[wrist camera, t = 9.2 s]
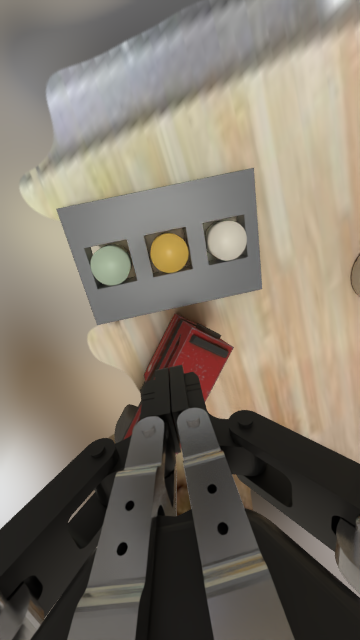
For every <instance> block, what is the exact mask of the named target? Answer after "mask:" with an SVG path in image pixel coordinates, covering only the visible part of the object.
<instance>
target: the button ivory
mask: <svg viewBox="0 0 360 640" xmlns="http://www.w3.org/2000/svg"><path fill="white" fill-rule="evenodd" d="M205 243H206V249H207V250H208V252H209V253H210V254H212V255H214V256H215V257H217V258H219V259H221V260H225V261H229V260H233V259H235V258H237V257H238V256H240V255H241V254H242V252H243V251H244V249H245V247H246V243H247V235H246V232H245V230H244V228H243V227H242V226H241V225H240V224H239V223H237V222H234V221H218V222H215V223H213V224H212V225H211V226H210V227H209V228H208V229H207V231H206V233H205Z"/></svg>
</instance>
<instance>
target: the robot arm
mask: <svg viewBox="0 0 360 640" xmlns="http://www.w3.org/2000/svg"><path fill="white" fill-rule="evenodd" d="M351 278H352V286H353V289H354V290H355V292H356V293H357V294H358V295H359V296H360V255H359V257H358V259H357V260H356V262H355V264H354V267H353V270H352V276H351ZM180 445H181V449H182V453H183V458H184V461H183V463H184V469H185V475H186V480H187V486H188V492H189V497H190V503H191V508H192V509H191V510H189V511H187V512H185V513H183V514H181V515H179V516H176V489H177V468H176V456H175V453H179V452H181V449H180ZM232 474H236V475H237V477H238V478H239V480H240V481H242V482H243V483H244V484H245V485H247V486H248V487H249V488H251V489H252V490H253V491H255V492H256V493H257V494H259V495H260V496H261V497H263V498H264V499H265V500H267V501H268V502H269V503H271V504H272V505H273V506H275V507H276V508H277V509H279V510H280V511H281V512H283V513H284V514H285V515H286V516H288V517H289V518H290V519H292V520H293V521H295V522H296V523H297V524H299V525H300V526H301V527H302V528H304V529H305V530H306V531H308V532H309V533H310V534H312V535H313V536H314V537H316V538H317V539H318V540H320V541H321V542H322V543H324V544H325V545H326V546H328V547H329V548H330V549H331V550H333V551H334V552H335V559H336V563H337V565H338V568H339V570H340V572H341V573H342V575H343V576H344V578H345V579H346V581H347V582H348V583H349V584H350V585H351V586H352V587H353V588H354V589H355V590H356V591H357V592H358V593H359V594H360V464H359V463H357V462H355V461H353V460H351V459H349V458H347V457H345V456H343V455H341V454H339V453H337V452H335V451H333V450H330V449H328V448H326V447H324V446H322V445H320V444H318V443H316V442H314V441H312V440H310V439H308V438H306V437H304V436H302V435H300V434H298V433H296V432H294V431H292V430H290V429H288V428H286V427H284V426H282V425H280V424H278V423H276V422H274V421H272V420H269V419H267V418H265V417H263V416H261V415H259V414H257V413H255V412H253V411H249V410H241V411H237V412H235V413H233V414H232V415H231V416H230V418H229V419H219V418H216V417H213V416H212V415H210V414H209V413H208V411H207V409H206V405H205V401H204V397H203V393H202V389H201V385H200V381H199V377H198V375H196V374H195V373H194V372H189V373H184V370H183V366H182V365H178V366H173V367H169V368H163V369H158V370H155V380H150V381H147V383H146V384H145V386H144V387H143V396H142V404H141V414H140V421H139V422H138V423H137V424H136V425H135V427H134V429H133V432H132V435H131V436H129V437H128V438H126V439H124V440H122V441H120V442H118V443H116V444H115V443H114V442H113V440H111V439H109V438H102V439H98V440H96V441H94V442H92V443H91V444H90V445H88V446H87V447H86V448H85V449H84V450H83V451H82V452H81V453H80V454H79V455H78V456H77V457H76V458H75V459H74V460H73V461H72V462H70V464H68V465H67V466H66V467H65V468H64V469H63V470H62V471H61V472H60V473H59V474H58V475H57V476H56V477H55V478H54V479H53V480H52V481H51V482H49V483H48V484H47V485H46V486H45V487H44V488H43V489H42V490H41V491H40V492H39V493H38V494H37V495H36V496H35V497H34V498H33V499H32V500H31V501H30V502H29V503H28V504H26V505H25V506H24V507H23V508H22V509H21V510H20V511H19V512H18V513H17V514H16V515H15V516H14V517H13V518H12V519H11V520H10V521H9V522H8V523H6V524H5V525H4V527H2V528H1V529H0V640H360V598H359V597H358V596H357V595H356V594H355V593H354V592H352V591H351V590H350V589H349V588H348V587H347V586H345V585H344V584H343V583H342V582H341V581H340V580H338V579H337V578H336V577H335V576H334V575H333V574H331V573H330V572H329V571H328V570H327V569H326V568H325V567H323V566H322V565H321V564H320V563H319V562H318V561H316V560H315V559H314V558H313V557H312V556H310V555H309V554H308V553H307V552H306V551H305V550H304V549H303V548H301V547H300V546H299V545H298V544H297V543H296V542H295V541H293V540H292V539H291V538H290V537H289V536H288V535H286V534H285V533H284V532H283V531H282V530H281V529H279V528H278V527H277V526H276V525H275V524H274V523H272V522H271V521H270V520H268V519H267V518H266V517H264V516H262V515H261V514H258V513H257V512H255V511H252V510H249V509H245V508H244V506H243V504H242V501H241V498H240V495H239V493H238V490H237V487H236V484H235V482H234V479H233V476H232ZM93 490H95V493H94V494H93V495H92V496H91V497H90V499H89V500H88V501H87V502H86V503H85V504H84V506H83V507H82V508H81V509H80V510H79V511H78V513H77V514H76V515H75V516H74V517H73V518H72V519H71V520H70V522H69V523H68V521H69V519H70V517H71V515H72V514H73V513H74V512H75V511H76V510H77V508H78V507H79V506H80V505H81V504H82V503H83V502H84V501H85V499H86V498H87V497H88V496H89V495H90V494H91V492H92V491H93ZM96 547H97V548H96ZM60 596H61V597H60ZM57 600H58V601H57ZM55 603H56V604H55ZM54 604H55V605H54ZM53 606H54V607H53ZM52 607H53V608H52ZM51 608H52V609H51ZM50 610H51V611H50ZM49 611H50V612H49ZM48 613H49V614H48ZM47 614H48V615H47ZM46 615H47V617H46ZM45 617H46V618H45ZM44 618H45V619H44Z"/></svg>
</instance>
